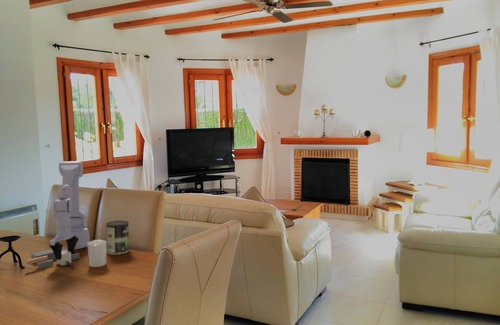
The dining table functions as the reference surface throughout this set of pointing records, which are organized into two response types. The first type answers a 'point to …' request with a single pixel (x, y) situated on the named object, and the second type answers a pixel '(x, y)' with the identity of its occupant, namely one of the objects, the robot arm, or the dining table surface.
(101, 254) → the white cup
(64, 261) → the plug
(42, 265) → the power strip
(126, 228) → the coffee can
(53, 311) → the dining table surface
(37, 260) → the latch
